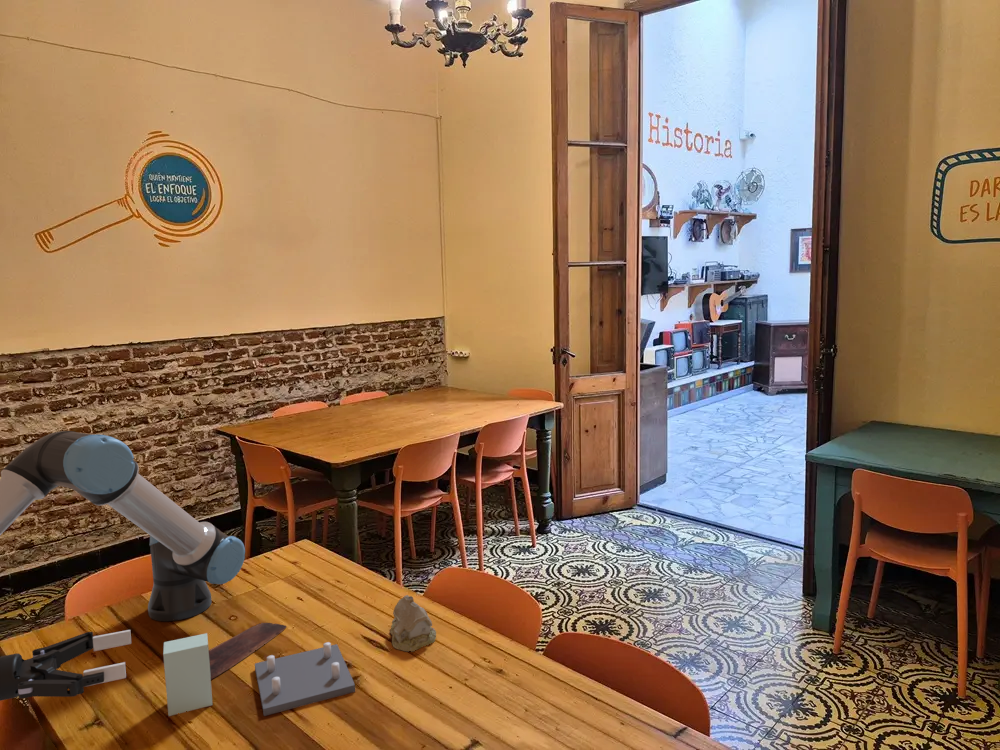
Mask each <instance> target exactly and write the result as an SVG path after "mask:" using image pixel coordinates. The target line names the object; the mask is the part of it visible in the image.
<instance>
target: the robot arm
mask: <svg viewBox="0 0 1000 750" xmlns="http://www.w3.org/2000/svg"><path fill="white" fill-rule="evenodd" d="M134 459H135V457H134V454H133V452H132V450H131V449H130V447H129V446H128V445H127V444H126V443H124V442H123V441H121V440H120V439H117V438H115V437H113V436H110V435H107V434H101V433H99V434H92V433H91V434H90V433H84V432H76V431H72V430H60V431H55V432H52V433H49V434H47V435H44V436H42V437H41V438H39V439H37V440H36V441H35V442H33V443H31V444H30V445H29V446H27V447H26V448H25V449H24V450H22V452H20V453H19V454H18V455H16V457H15V458H13V460H11V461H10V462H8V464H7V465H6V466H5V467H3V469H2V470H1V472H0V477H1V478H0V536H1V535H2V534H3V533H4V532H5V531H6V530H8V528H9V527H10V526H11V525H12V524H13V523H14V522H15V521H16V520H17V519H18V518H19V517H20V516H21V515H22V514H23V513H24V512H25V510H26V509H28V508H29V507H30V505H31V504H33V502H35V501H37V500H43V499H44V498H45V497H46V496H47V495H48V494H49V493H50V492H51V491H53V490H54V489H55V488H58V487H63V488H67V489H70V490H73V491H75V492H76V493H77V494H79V495H80V496H81V497H83V498H84V499H86V500H87V501H89V502H90V503H92V504H93V505H95V506H98V507H99V506H106V505H108V506H109V507H111V508H112V509H113V510H115V511H116V512H117V513H118V514H121V516H123V517H125V518H126V519H127V520H128V521H130V522H131V523H133V524H134V525H136V527H138V528H140V530H142V531H143V532H145V533H146V534H148V535H149V547H150V558H151V568H152V570H151V571H152V579H153V580H152V581H153V582H152V583H153V586H152V590H151V593H150V598H149V599H148V604H147V613H148V614H147V615H148V617H149V618H150V619H152V620H154V621H158V622H175V621H181V620H186V619H189V618H191V617H194V616H197V615H199V614H202V613H203V612H205V611H206V610H208V608H210V606H211V605H212V602H213V601H212V594H211V591H210V589H209V587H208V584H207V583H206V582H208V583H210V584H211V585H214V584H215V585H223V584H227V583H228V582H230V581H232V580H233V579H234V578H235V577H236V576H237V575H238V574H239V572H240V571H241V569H242V568H243V564H244V562H245V558H246V556H245V553H246V549H245V545H244V542H243V541H242V540H241V539H239V538H238V537H236V536H234V535H227V534H226V533H223V531H221V530H220V529H219V528H217V526H215V525H213V524H212V523H211V522H208V521H200V522H199V520H197V519H196V518H194V517H193V516H192V515H191V514H190V513H188V512H187V511H186V510H184V509H183V508H182V507H181V506H180V505H178V504H177V503H176V502H175V501H173V500H172V499H171V498H169V497H168V496H167V495H166V494H164V493H163V492H162V491H161V490H159V489H158V488H157V487H156V486H154V485H153V484H152V483H151V482H150V481H148V480H147V479H146V478H144V476H143V475H141V474H140V473H139V470H140V467H139V464H138V462H136V461H135V460H134ZM126 645H132V636H131V629H126V630H122V631H116V632H110V633H105V634H100V635H94V632H93V631H87V632H84V633H81V634H78V635H76V636H72V637H70V638H67V639H64V640H60V641H58V642H55V643H53V644H50V645H48V646H43V647H40V648H35V649H33V650H32V657H30V658H27V659H23V656H22V655H21V654H20V653H12V654H7V655H6V654H5V655H1V656H0V701H5V700H9V699H15V698H19V699H26V698H32V697H34V698H35V697H37V698H38V697H40V698H42V697H44V698H45V697H47V698H48V697H53V698H55V697H61V698H62V697H63V698H64V697H65V698H66V697H67V698H68V697H70V698H71V697H72V698H73V697H77V696H78V695H82V694H83V693H84V692H85V687H90V686H94V685H100V684H103V683H108V682H109V683H110V682H113V681H119V680H122V679H126V678H127V673H126V672H127V671H126V661H123V662H120V663H114V664H110V665H104V666H99V667H95V668H89V669H85V670H83V673H76V672H73V671H72V672H71V671H66V670H58V669H59V668H61V666H62V665H63V664H65V663H67V662H69V661H70V660H73V659H74V658H77V657H79V656H81V655H84V654H85V653H87V652H90V651H91V650H93V652H98V651H102V650H107V649H111V648H112V649H113V648H116V647H117V648H118V647H122V646H126Z"/></svg>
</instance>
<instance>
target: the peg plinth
mask: <svg viewBox="0 0 1000 750" xmlns="http://www.w3.org/2000/svg"><path fill="white" fill-rule="evenodd" d="M254 670H255V675H256V676H255V677H256V680H257V687H258V691H259V696H260V698H259V699H260V701H261V702H260V703H261V708H262V712H263V716H264V717H266V716H270V715H274V714H277V713H280V712H284V711H289V710H291V709H295V708H299V707H303V706H307V705H310V704H311V705H312V704H314V703H319V702H322V701H324V700H329V699H333V698H336V697H341V696H344V695H349V694H351V693H356V685H355V682H354V679H353V677H352V675H351V672H350V670H349V668H348V666H347V663H346V660H345V659H344V657H343V655H342V652H341V650H340V648H339V645H338V644H337V643H336V644H332V643H331V642H330V641H328V642H324V643H323V646H322V647H318V648H315V649H311V650H305V651H301V652H298V653H293V654H289V655H285V656H281V657H278V658H277V657H276V658H275V655H273V654H271V655H268V656H266V660H264V661H259V662H255V663H254Z"/></svg>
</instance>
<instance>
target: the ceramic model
mask: <svg viewBox="0 0 1000 750" xmlns="http://www.w3.org/2000/svg"><path fill="white" fill-rule="evenodd" d="M392 615H393V617H394V618H393V620H392V622H391V626H390V630H389V633H390V634H391V645H392V646H393V648H394V649H397V650H399V651H403V652H409V651H411V652H415V650H416V651H417V650H419V649H421V647H422V648H424V647H426V645H427V646H429V644H430V645H432V644H434V642H436V640H435V639H436V638H437V631H436V629H435V628H434V627H432V626H433V622H432V619H431V618H430V617H429V614H428V612H427V610H426V609H425V608H424V607H421V606H420V605H419V604H418V603H416V601H415V600H414V597H413V596H412V595H410V596H409V595H408V594H407V595H403V597H402V598H401V599H399V600H398V601H397V602H396V605H395V607H394V609H393V614H392ZM431 643H432V644H431ZM423 646H424V647H423Z"/></svg>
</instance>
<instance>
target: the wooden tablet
mask: <svg viewBox="0 0 1000 750" xmlns="http://www.w3.org/2000/svg"><path fill="white" fill-rule="evenodd" d="M260 623H261V624H260ZM260 623H258V624H256V626H255V625H254V626H251V627H248V628H247V629H246V630H244V631H242V632H240V633H238V634H237V635H235V636H233V637H231V638H229V639H227V640H225V641H223V642H221V643H220V644H218V645H216V646H214V647H212V648H210V649H208V650H209V663H210V676H211V680H213V679H214V678H217V677H218V676H220V675H221V674H223V673H224V672H226V671H227V670H228V671H229V670H230V669H231V668H232V667H234V666H235V665H237V664H238V663H240V662H241V661H243V660H244V659H246V658H247V657H248V656H250V655H251V654H253V653H254V652H256V651H257V650H259V649H260V648H262V647H263V646H265V645H266V644H267V643H269V642H270V641H271V640H273V639H275V637H277V636H278V635H280V634H281V633H282V632H283V631H284V630H285V629H286V628H287V625H285V624H280V623H271V622H260ZM264 644H265V645H264ZM255 650H256V651H255Z"/></svg>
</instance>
